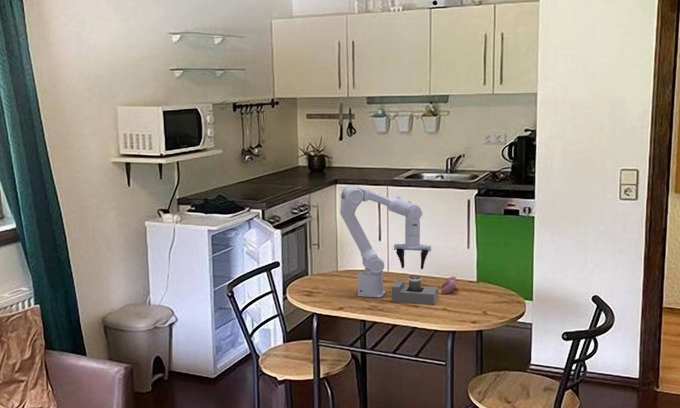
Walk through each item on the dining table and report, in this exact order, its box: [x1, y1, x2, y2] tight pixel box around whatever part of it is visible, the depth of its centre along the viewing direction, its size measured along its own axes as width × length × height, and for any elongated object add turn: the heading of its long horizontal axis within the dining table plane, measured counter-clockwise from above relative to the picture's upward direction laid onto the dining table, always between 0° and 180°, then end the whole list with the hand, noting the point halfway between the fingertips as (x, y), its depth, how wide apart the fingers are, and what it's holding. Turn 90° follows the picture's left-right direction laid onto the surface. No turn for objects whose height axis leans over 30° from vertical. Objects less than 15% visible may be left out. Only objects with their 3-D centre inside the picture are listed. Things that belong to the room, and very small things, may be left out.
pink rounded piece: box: [440, 275, 458, 295], centre depth 276 cm, size 10×5×7 cm, turn 170°
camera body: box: [391, 279, 439, 306], centre depth 265 cm, size 16×10×6 cm, turn 74°
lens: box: [408, 274, 422, 292], centre depth 264 cm, size 5×5×8 cm
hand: (412, 268), depth 275 cm, fingers open, 7 cm apart
